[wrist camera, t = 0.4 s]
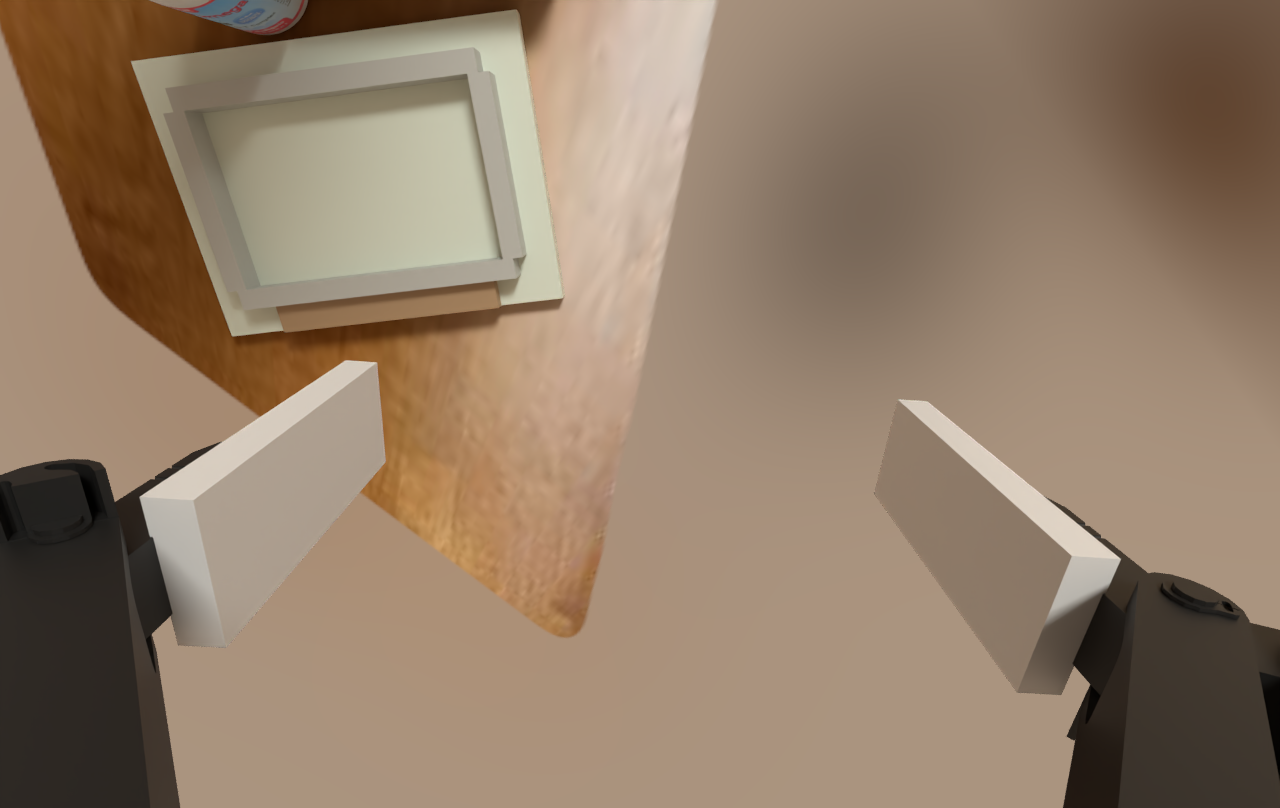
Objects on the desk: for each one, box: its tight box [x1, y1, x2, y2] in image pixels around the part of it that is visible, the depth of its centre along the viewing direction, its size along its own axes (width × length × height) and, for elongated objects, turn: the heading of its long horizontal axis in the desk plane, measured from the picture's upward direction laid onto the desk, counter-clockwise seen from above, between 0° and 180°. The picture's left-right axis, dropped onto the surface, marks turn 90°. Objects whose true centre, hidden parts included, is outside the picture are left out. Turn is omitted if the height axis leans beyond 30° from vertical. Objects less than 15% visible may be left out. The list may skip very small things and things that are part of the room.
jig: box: [131, 9, 565, 336], centre depth 36 cm, size 16×22×2 cm
